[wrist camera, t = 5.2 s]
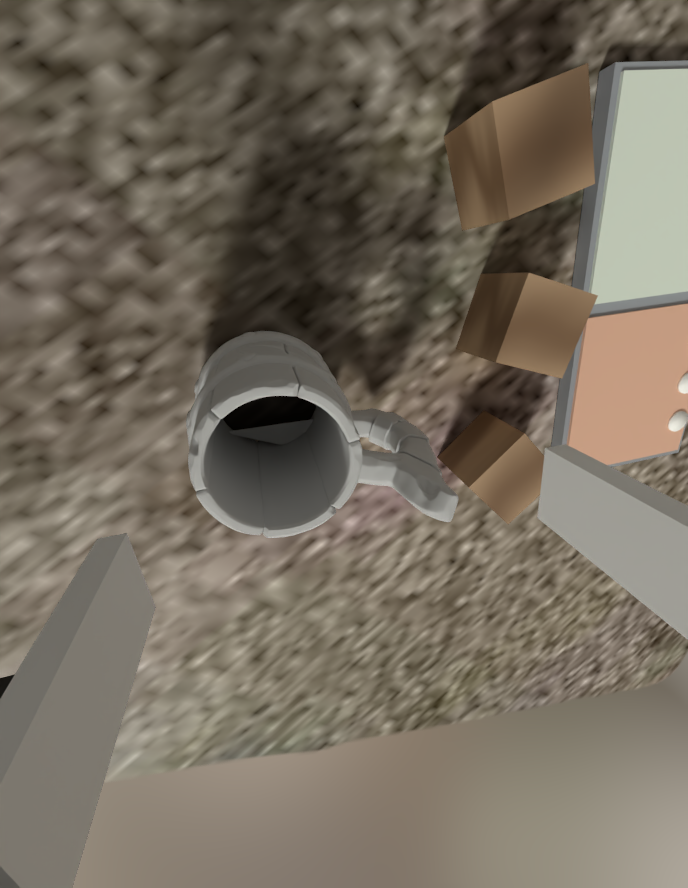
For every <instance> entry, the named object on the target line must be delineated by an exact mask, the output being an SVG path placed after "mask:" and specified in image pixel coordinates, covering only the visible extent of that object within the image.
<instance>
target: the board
mask: <svg viewBox="0 0 688 888" xmlns="http://www.w3.org/2000/svg"><path fill="white" fill-rule="evenodd" d="M592 139H593V156H594V174H595V184H593V185H591V186H589V187H586V188H584V195H583V203H582V211H581V219H580V227H579V234H578V242H577V250H576V258H575V265H574V273H573V281H572V287H574V288H577V289H580V290H583V291H586V292H589V293H592V294H595V295H598V297H597V299H596V301H595V304H594V306H593V308H592V311H591V313H590V315H589V318H588V320H587V322H586V325H585V327H584V329H583V331H582V334H581V336H580V338H579V341H578V343H577V345H576V348H575V350H574V352H573V355H572V357H571V359H570V361H569V364H568V366H567V368H566V371H565V373H564V375H563V378H560V382H559V390H558V398H557V406H556V413H555V421H554V429H553V437H552V444H551V447H554V446H559V445H564V444H566V445H568V446H570V447H572V448H574V449H576V450H578V451H580V452H582V453H584V454H586V455H588V456H590V457H592V458H594V459H596V460H598V461H600V462H602V463H604V464H606V465H608V466H610V467H614V466H619V465H624V464H628V463H633V462H637V461H642V460H646V459H651V458H655V457H660V456H664V455H669V454H673V453H678V452H679V449H680V445H681V441H682V438H683V434H684V430H685V427H686V423H687V420H688V60H687V61H645V62H615V63H613V64H612V65H610V66H608V67H607V68H605V69H603V70H601V71H600V72H599V79H598V86H597V94H596V102H595V110H594V118H593V125H592Z"/></svg>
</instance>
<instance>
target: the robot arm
mask: <svg viewBox="0 0 688 888" xmlns="http://www.w3.org/2000/svg"><path fill="white" fill-rule="evenodd" d="M538 519H540V520H541V521H542V522H543V523H544V524H546V525H547V526H548V527H549V528H551V529H552V530H553V531H554V532H556V533H557V534H558V535H559V536H561V537H562V538H563V539H564V540H565V541H567V542H568V543H569V544H570V545H572V546H573V547H574V548H575V549H577V550H578V551H579V552H580V553H581V554H583V555H584V556H585V557H586V558H588V559H589V560H590V561H591V562H593V563H594V564H595V565H596V566H597V567H599V568H600V569H601V570H602V571H604V572H605V573H606V574H607V575H609V576H610V577H611V578H612V579H614V580H615V581H616V582H617V583H618V584H620V585H621V586H622V587H623V588H625V589H626V590H627V591H628V592H630V593H631V594H632V595H633V596H634V597H636V598H637V599H638V600H639V601H641V602H642V603H643V604H644V605H646V606H647V607H648V608H649V609H651V610H652V611H653V612H654V613H655V614H657V615H658V616H659V617H660V618H662V619H663V620H664V621H665V622H667V623H668V624H669V625H670V626H671V627H673V628H674V629H675V630H676V631H678V632H679V633H680V634H681V635H683V636H684V637H685V638H686V639H688V506H687V505H685V504H683V503H681V502H679V501H677V500H675V499H673V498H671V497H669V496H667V495H665V494H663V493H661V492H659V491H657V490H655V489H653V488H651V487H649V486H647V485H645V484H643V483H641V482H639V481H637V480H636V479H634V478H632V477H630V476H628V475H626V474H624V473H622V472H620V471H618V470H616V469H614V468H612V467H610V466H608V465H606V464H604V463H602V462H600V461H598V460H596V459H594V458H592V457H590V456H588V455H586V454H584V453H582V452H580V451H578V450H576V449H574V448H572V447H570V446H568V445H566V444H564V445H559V446H554V447H549V448H545V454H544V463H543V473H542V482H541V491H540V500H539V509H538ZM155 608H156V606H155V604H154V601H153V599H152V596H151V594H150V591H149V589H148V586H147V584H146V581H145V578H144V576H143V573H142V571H141V568H140V566H139V563H138V561H137V558H136V556H135V553H134V550H133V548H132V545H131V543H130V540H129V538H128V535H127V533H124V534H120V535H115V536H110V537H105V538H100V539H97V540H96V542H95V544H94V545H93V547H92V549H91V550H90V552H89V553H88V555H87V557H86V558H85V560H84V562H83V563H82V565H81V567H80V568H79V570H78V572H77V573H76V575H75V577H74V578H73V580H72V581H71V583H70V585H69V586H68V588H67V590H66V591H65V593H64V595H63V596H62V598H61V600H60V601H59V603H58V605H57V606H56V608H55V609H54V611H53V613H52V614H51V616H50V618H49V619H48V621H47V623H46V624H45V626H44V628H43V629H42V631H41V633H40V634H39V636H38V637H37V639H36V641H35V642H34V644H33V646H32V647H31V649H30V651H29V652H28V654H27V656H26V657H25V659H24V661H23V662H22V664H21V665H20V667H19V669H18V670H17V672H16V674H15V675H11V676H7V677H3V678H0V888H72V887H73V884H74V881H75V877H76V874H77V870H78V867H79V864H80V860H81V857H82V854H83V850H84V847H85V843H86V840H87V837H88V833H89V830H90V826H91V823H92V820H93V816H94V813H95V810H96V806H97V803H98V800H99V796H100V793H101V790H102V786H103V783H104V779H105V776H106V773H107V769H108V766H109V763H110V759H111V756H112V753H113V749H114V746H115V742H116V739H117V736H118V732H119V729H120V726H121V722H122V719H123V715H124V712H125V709H126V705H127V702H128V699H129V695H130V692H131V689H132V685H133V682H134V678H135V675H136V672H137V668H138V665H139V662H140V658H141V655H142V651H143V648H144V645H145V641H146V638H147V635H148V631H149V628H150V625H151V621H152V618H153V614H154V611H155Z"/></svg>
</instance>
